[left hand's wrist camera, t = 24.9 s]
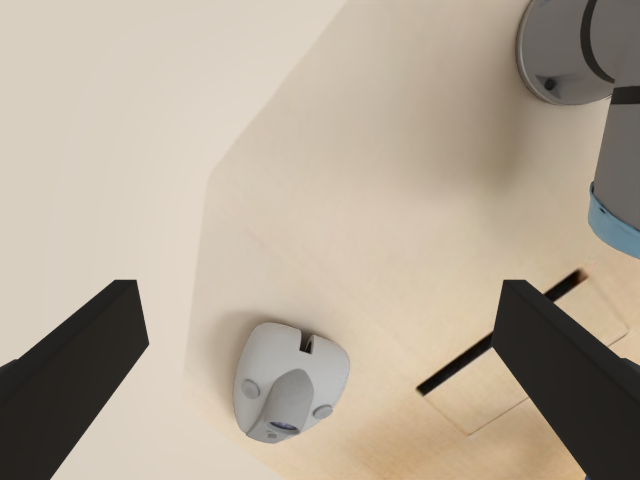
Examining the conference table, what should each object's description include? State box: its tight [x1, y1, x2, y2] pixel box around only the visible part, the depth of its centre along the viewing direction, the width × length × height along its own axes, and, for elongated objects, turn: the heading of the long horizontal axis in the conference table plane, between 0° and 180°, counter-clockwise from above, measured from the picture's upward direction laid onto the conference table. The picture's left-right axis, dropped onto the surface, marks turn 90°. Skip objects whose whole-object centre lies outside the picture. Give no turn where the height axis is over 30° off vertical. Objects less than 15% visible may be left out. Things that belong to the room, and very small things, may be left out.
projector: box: [233, 322, 350, 444], centre depth 52 cm, size 22×23×15 cm
